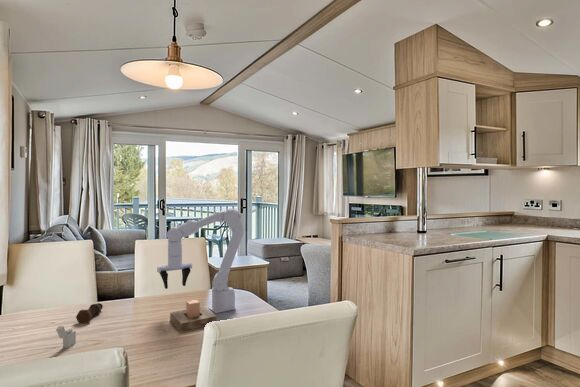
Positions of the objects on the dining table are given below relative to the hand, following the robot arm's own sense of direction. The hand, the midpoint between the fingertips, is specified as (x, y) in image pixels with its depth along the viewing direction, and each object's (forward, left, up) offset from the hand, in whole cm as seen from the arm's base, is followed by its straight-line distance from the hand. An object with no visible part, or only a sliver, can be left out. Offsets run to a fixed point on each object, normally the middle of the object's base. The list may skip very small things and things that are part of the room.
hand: (175, 286), depth 159 cm
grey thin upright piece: (+41, +16, -11) cm, 45 cm away
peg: (-2, +17, -10) cm, 20 cm away
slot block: (-2, +17, -10) cm, 20 cm away
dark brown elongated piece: (+31, -12, -11) cm, 35 cm away
